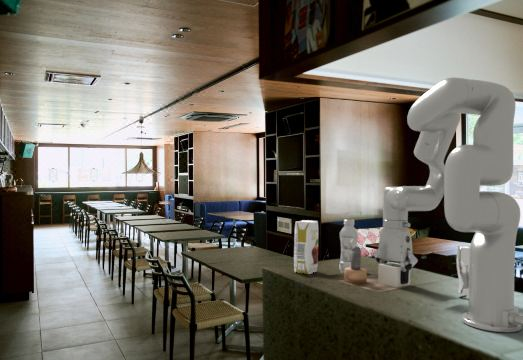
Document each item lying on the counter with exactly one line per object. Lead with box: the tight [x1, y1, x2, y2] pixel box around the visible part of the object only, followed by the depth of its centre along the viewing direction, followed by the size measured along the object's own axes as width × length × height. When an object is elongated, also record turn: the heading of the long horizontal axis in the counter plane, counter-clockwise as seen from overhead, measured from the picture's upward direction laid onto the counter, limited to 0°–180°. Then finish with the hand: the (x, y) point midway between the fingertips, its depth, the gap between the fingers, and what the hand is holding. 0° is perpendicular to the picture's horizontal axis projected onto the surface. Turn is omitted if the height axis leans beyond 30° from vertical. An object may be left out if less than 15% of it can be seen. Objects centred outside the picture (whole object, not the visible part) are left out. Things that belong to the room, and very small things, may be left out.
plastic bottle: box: [338, 219, 359, 274], centre depth 158 cm, size 6×7×20 cm
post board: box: [337, 245, 415, 293], centre depth 138 cm, size 17×18×13 cm
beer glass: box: [455, 245, 471, 301], centre depth 128 cm, size 7×7×15 cm
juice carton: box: [293, 219, 319, 275], centre depth 160 cm, size 8×9×19 cm
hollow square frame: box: [377, 261, 411, 287], centre depth 137 cm, size 7×7×6 cm
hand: (394, 280), depth 137 cm, fingers closed on hollow square frame, 7 cm apart
